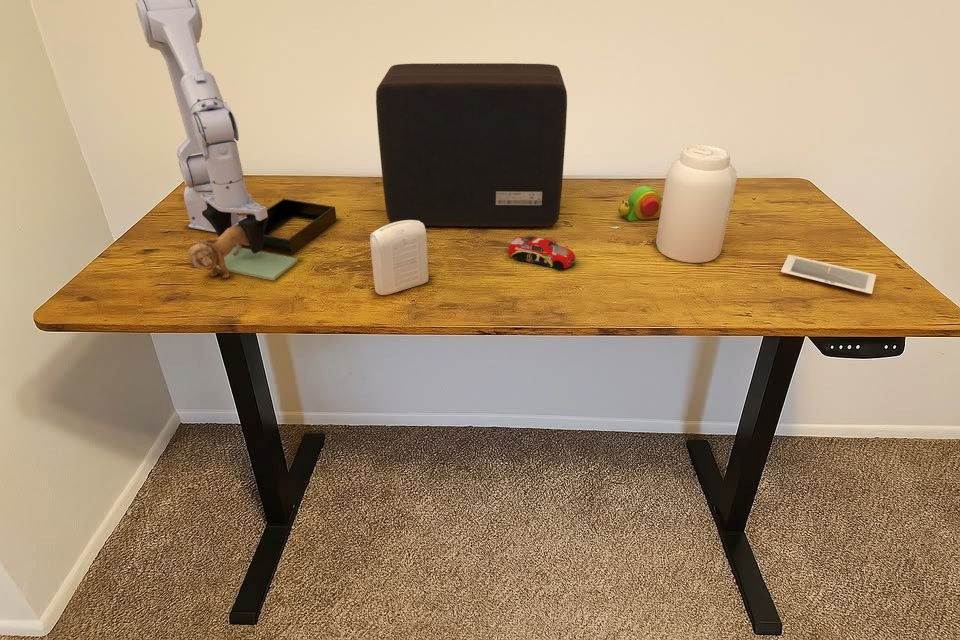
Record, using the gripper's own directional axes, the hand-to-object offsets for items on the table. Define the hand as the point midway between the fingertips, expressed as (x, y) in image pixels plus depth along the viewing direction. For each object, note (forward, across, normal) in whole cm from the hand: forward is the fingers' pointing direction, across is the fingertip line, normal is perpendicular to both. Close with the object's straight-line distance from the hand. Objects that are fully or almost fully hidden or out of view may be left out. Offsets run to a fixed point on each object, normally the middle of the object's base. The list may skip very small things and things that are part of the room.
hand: (242, 246), depth 123 cm
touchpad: (+4, -99, -46) cm, 109 cm away
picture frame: (+3, +2, -14) cm, 14 cm away
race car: (+4, -50, -28) cm, 57 cm away
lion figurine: (+3, 0, +3) cm, 4 cm away
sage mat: (+3, 0, 0) cm, 3 cm away
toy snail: (+4, -64, -59) cm, 87 cm away
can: (+4, -73, -45) cm, 86 cm away
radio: (+4, -28, -41) cm, 49 cm away
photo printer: (+4, -31, -7) cm, 32 cm away
